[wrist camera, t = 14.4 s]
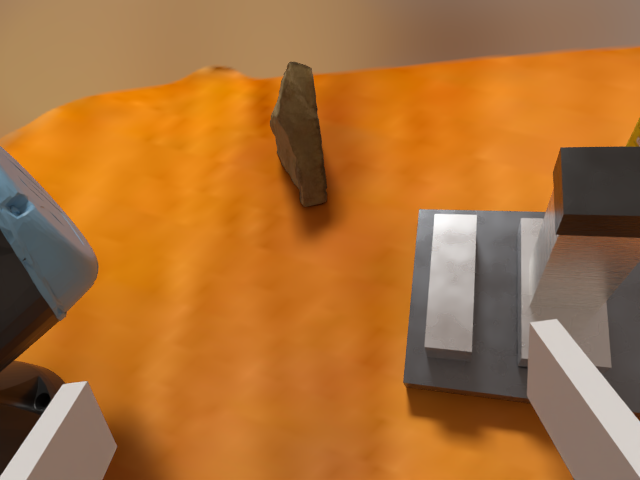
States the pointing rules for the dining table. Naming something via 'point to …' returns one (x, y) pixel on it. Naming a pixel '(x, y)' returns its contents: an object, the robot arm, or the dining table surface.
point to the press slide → (581, 247)
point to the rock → (300, 134)
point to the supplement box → (635, 136)
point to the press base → (492, 311)
